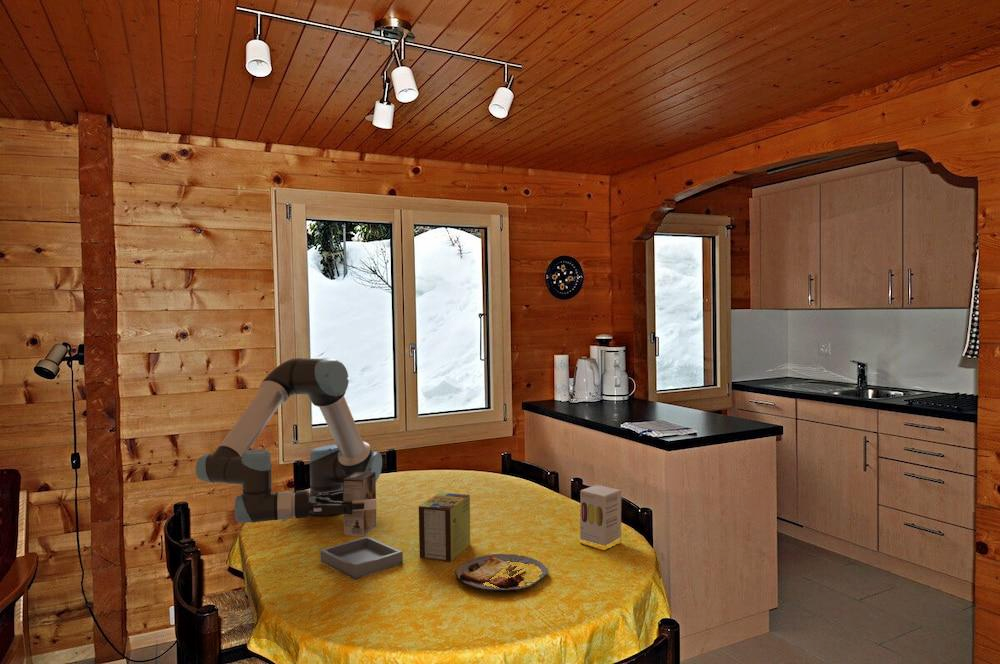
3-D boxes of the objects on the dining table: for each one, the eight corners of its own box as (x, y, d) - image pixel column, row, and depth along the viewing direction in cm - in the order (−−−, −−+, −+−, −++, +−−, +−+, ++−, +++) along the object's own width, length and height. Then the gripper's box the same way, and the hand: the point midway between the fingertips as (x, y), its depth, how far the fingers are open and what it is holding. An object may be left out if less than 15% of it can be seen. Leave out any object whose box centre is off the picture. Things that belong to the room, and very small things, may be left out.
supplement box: (579, 544, 204) (578, 490, 204) (596, 536, 211) (596, 483, 210) (605, 551, 198) (605, 495, 197) (622, 543, 205) (622, 489, 204)
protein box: (471, 544, 206) (470, 494, 205) (451, 562, 191) (450, 508, 190) (440, 540, 209) (439, 491, 208) (418, 558, 194) (417, 505, 194)
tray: (367, 547, 203) (367, 536, 203) (402, 563, 190) (402, 551, 190) (320, 562, 192) (320, 550, 192) (354, 580, 179) (354, 567, 179)
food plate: (514, 604, 163) (514, 590, 163) (438, 585, 176) (438, 571, 176) (560, 572, 184) (560, 559, 184) (490, 557, 197) (490, 545, 197)
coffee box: (356, 525, 196) (355, 471, 195) (377, 526, 194) (376, 471, 194) (343, 535, 187) (342, 478, 186) (364, 536, 185) (363, 479, 185)
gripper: (296, 506, 197) (372, 500, 202) (292, 531, 175) (377, 523, 180) (296, 481, 197) (372, 476, 202) (292, 502, 175) (377, 496, 180)
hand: (374, 498), depth 191 cm, fingers closed on coffee box, 10 cm apart
